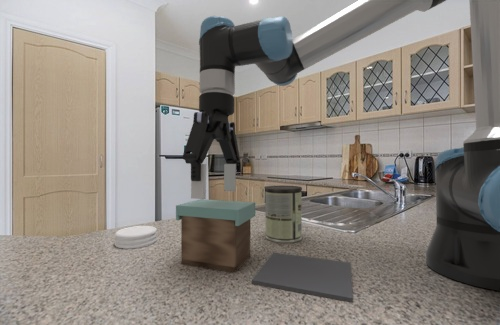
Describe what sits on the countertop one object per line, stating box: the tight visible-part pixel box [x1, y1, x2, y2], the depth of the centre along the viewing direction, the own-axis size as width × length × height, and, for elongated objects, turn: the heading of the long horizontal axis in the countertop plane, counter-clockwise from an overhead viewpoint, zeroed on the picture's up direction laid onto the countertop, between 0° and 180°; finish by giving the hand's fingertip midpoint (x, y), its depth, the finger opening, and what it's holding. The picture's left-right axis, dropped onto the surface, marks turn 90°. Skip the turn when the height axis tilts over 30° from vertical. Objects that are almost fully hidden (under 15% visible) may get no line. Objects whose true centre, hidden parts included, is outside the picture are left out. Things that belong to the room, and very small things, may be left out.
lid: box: [175, 199, 256, 226], centre depth 52 cm, size 14×10×3 cm
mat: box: [251, 252, 354, 303], centre depth 45 cm, size 16×14×1 cm
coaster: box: [114, 225, 158, 250], centre depth 64 cm, size 10×10×4 cm
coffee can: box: [264, 185, 303, 244], centre depth 68 cm, size 10×10×14 cm
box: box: [180, 216, 251, 273], centre depth 52 cm, size 12×8×10 cm
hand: (215, 194), depth 52 cm, fingers open, 13 cm apart
